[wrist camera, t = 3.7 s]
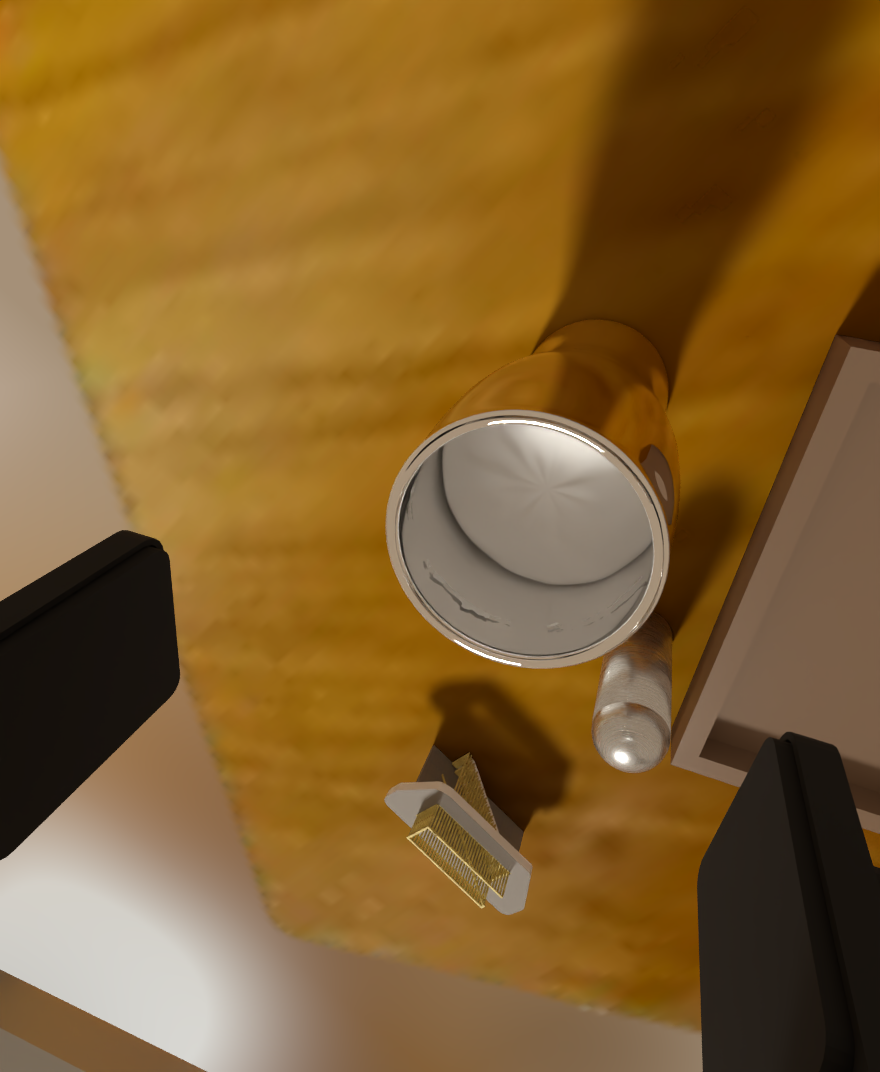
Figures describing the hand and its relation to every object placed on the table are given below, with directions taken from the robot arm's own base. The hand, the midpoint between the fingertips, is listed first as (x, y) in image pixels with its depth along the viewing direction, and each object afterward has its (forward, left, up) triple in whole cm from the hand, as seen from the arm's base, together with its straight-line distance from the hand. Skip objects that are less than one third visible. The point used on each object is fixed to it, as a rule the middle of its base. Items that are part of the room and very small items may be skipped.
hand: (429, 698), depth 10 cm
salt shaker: (-11, -5, -21) cm, 24 cm away
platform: (-25, 0, -21) cm, 33 cm away
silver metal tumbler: (0, 0, -21) cm, 21 cm away
